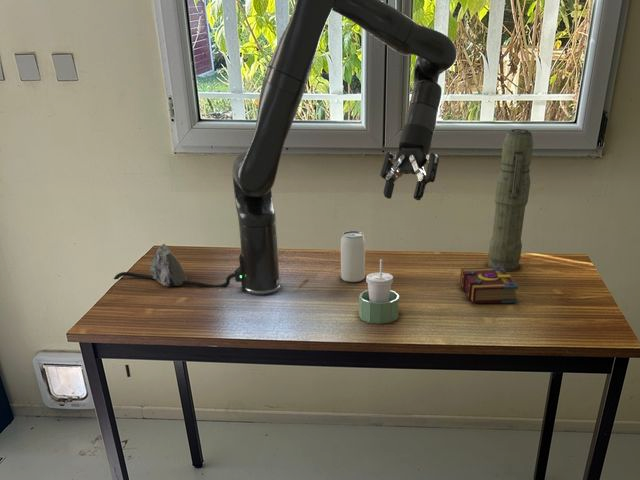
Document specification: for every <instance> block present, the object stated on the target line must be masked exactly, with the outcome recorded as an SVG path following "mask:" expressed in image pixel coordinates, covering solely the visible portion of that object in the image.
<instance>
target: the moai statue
mask: <svg viewBox="0 0 640 480" xmlns="http://www.w3.org/2000/svg"><path fill="white" fill-rule="evenodd" d="M502 144H503V145H502V152H501V161H500V164H501V166H500V170H499V174H498V176H497V178H496V184H495V192H494V193H495V194H494V203H495V210H494V218H493V227H492V236H491V238H490V241H489V246H488V254H487V257H488V260H487V268H488V267H495V266H502V267H503V268H504V269H505V271H506V272H512V271H516V270H518V269H519V266H520V259H521V257H522V250H523V242H522V233H523V226H524V220H525V219H524V218H525V212H526V206H527V204H528V202H529V195H530V188H531V176H530V171H531V169H530V165H531V162H532V156H533V150H534V149H533V148H534V139H533V133H532V132H531V131H530V130H529V129H523V128H514V129H510V130H508V131H507V133H506V135H505V138H504V141H503V143H502Z"/></svg>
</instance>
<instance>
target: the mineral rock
mask: <svg viewBox="0 0 640 480" xmlns="http://www.w3.org/2000/svg"><path fill="white" fill-rule="evenodd" d="M149 270H150V271H149V272H150V275H152V276H153V277H154V279H153V280H155V281H156V282H158V283H160V284H161V285H162V286H165V287H168V288H170V287H174V286H175V287H176V286H177V287H180V286H182V285H184V284H183V281H188V277H187V276H186V272H185V270H184V267H183V265H182V263H181V261H180V260H178V259H177V257H176V256H175V255H174V253H173V252H172V251H171V249H170V247H169V246H168V245H167V244H166V243H163V244H161V245H160V246H159V247H157V250H156V252H155V255H154V257H153V259H151V262H150V268H149Z"/></svg>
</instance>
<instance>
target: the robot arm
mask: <svg viewBox="0 0 640 480" xmlns="http://www.w3.org/2000/svg"><path fill="white" fill-rule="evenodd" d="M292 9H293V10H292V12H291V17H290V19H289V21H288V24H287V25H286V28H285V30H284V31H283V33H282V35H281V37H280V38H279V40H278V42H277V44H276V47H275V49H274V51H273V53H272V55H271V58H270V60H269V62H268V66H267V68H266V71H265V75H264V78H263V81H262V84H261V89H260V93H259V99H258V107H257V115H256V123H255V128H254V133H253V135H252V137H251V140H250V143H249V146H248V148H247V150H245V151H242V152H241V153H239V154H238V155H237V156H236V157H235V159H234V161H233V164H232V169H231V170H232V183H233V194H234V203H235V210H236V213H237V221H238V229H239V240H240V252H241V253H240V254H238V260H239V266H238V267H237V268H236V269H235V270H234V272H233V273H230V274H229V275H227V276H226V279H225V282H224V283H221V284H209V283H204V282H200V281H199V282H198V281H191V280H190V281H189V280H187V281H183V284H182V285H185V286H194V287H202V288H226V287H227V286H228V287H229V285H230V283H231V279H232V278H234V279H235V282H237V283H241V291H242V292H245V293H248V294H252V295H261V296H262V295H270V294H274V293H276V292H278V291H280V289H281V281H282V279H281V277H280V268H279V252H278V251H279V250H278V235H277V218H276V209H275V205H274V202H273V195H272V188H273V187H274V185H275V182H276V178H277V174H278V169H279V165H280V161H281V158H282V153H283V149H284V146H285V143H286V139H287V137H288V135H289V132H290V130H291V129H292V128H291V127H292V125H293V122H294V120H295V118H296V115H297V112H298V110H299V106H300V104H301V102H302V98H303V96H304V93H305V91H306V87H307V84H308V81H309V79H310V75H311V72H312V69H313V65H314V63H315V58H316V55H317V51H318V48H319V44H320V41H321V38H322V35H323V31H324V29H325V26H326V24H327V22H328V20H329V17H330V15H331V13H332V12H335V13H336V14H339V15H341V16H343V17H344V18H346V19H347V20H349V21H351V22H352V23H354V24H356V25H357V26H359V27H360V28H361V29H363V30H364V31H365V32H367V33H368V34H370V35H371V36H373V37H374V38H375V39H377V40H378V41H380V42H381V43H383V44H384V45H386V46H387V47H389V48H390V49H391V50H393V51H395V52H396V53H397V54H399V55H402V56H404V57H408V56H416V58H415V61H414V67H413V89H412V92H411V95H410V96H411V97H410V100H409V105H408V108H407V111H406V114H405V117H404V121H403V125H402V130H401V133H400V138H399V141H398V151H397V152H396V153H391V152H390V151H388V152H386V154H385V157H384V160H383V163H382V166H381V170H380V174H379V175H380V177H381V178H382V179H383V180H385V184H384V188H383V196H384V197H385V198H386V199H387V200H388V199H389V200H391V199H392V196H393V193H394V188H395V182H397V180H398V179H399V178H401V177H402V176H403V175H410V174H411V175H416V177H417V180H418V181H416V184H415V189H414V193H413V199H414V200H416V201H421V199H422V198H423V197H424V194H425V190H426V186H427V184H428V183H434V182H435V181H436V176H437V171H438V166H439V162H440V157H439V156H438V155H437V154H436V153H434V152H433V151H431V147H432V144H433V138H434V135H435V130H436V126H437V122H438V114H439V111H440V110H439V109H440V106H441V103H442V98H443V87H442V86H441V85H440V84H439V79H440V76H441V74H443V73H444V72H446V71H448V70H450V69H451V68H452V67H453V66H454V65H455V63H456V61H457V56H458V51H457V48H456V45H455V44H454V43H455V42H453V40H451V38H450V37H449V36H447V35H446V34H445V33H442V32H440V31H438V30H435V29H433V28H430V27H428V26H424V25H421V24H418V23H417V22H416V21H414V20H413V19H411V18H410V17H408V16H407V15H406V14H404V13H403V12H401V11H400V10H398V9H397V8H395V7H394V6H392V5H390V4H388V3H386V2H385V1H383V0H295V2H294V6H293V8H292ZM430 151H431V152H430ZM429 153H430V154H429ZM426 164H427V166H426V171H425V167H424V166H425V165H426ZM125 276H126V277H133V278H144V279H151V280H155V279H154V277H153V276H152V274H145V273H135V272H130V271H122V272H119V273H117V274H115V276H114V277H113V280H118V279H120V278H121V277H125ZM124 367H125V371H126V377H127V378H130V377H131V371H130V366H129V364H125V365H124Z"/></svg>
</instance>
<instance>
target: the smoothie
mask: <svg viewBox="0 0 640 480" xmlns="http://www.w3.org/2000/svg"><path fill="white" fill-rule="evenodd" d="M365 282H366V284H367V290H368V291H369V300H370V302H376V303H384V302H389V296H390V290H391V289H392V283H394V275H392V274H391V273H388V272H383V258H380V259H379V271H378V272H371V273H368V274H367V275H365ZM391 291H392V290H391Z"/></svg>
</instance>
